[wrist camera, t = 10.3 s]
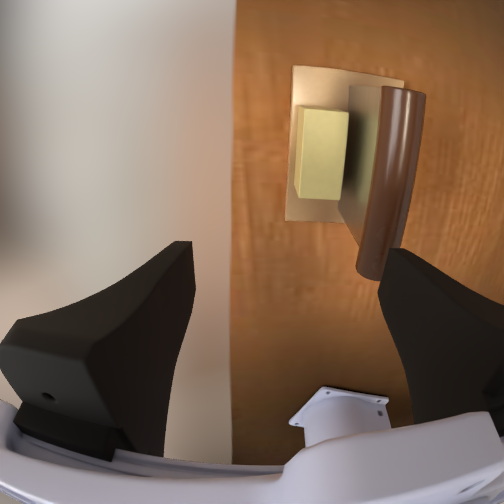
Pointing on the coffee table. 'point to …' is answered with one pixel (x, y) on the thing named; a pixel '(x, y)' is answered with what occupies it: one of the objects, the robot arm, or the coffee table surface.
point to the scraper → (380, 170)
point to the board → (328, 96)
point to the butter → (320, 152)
